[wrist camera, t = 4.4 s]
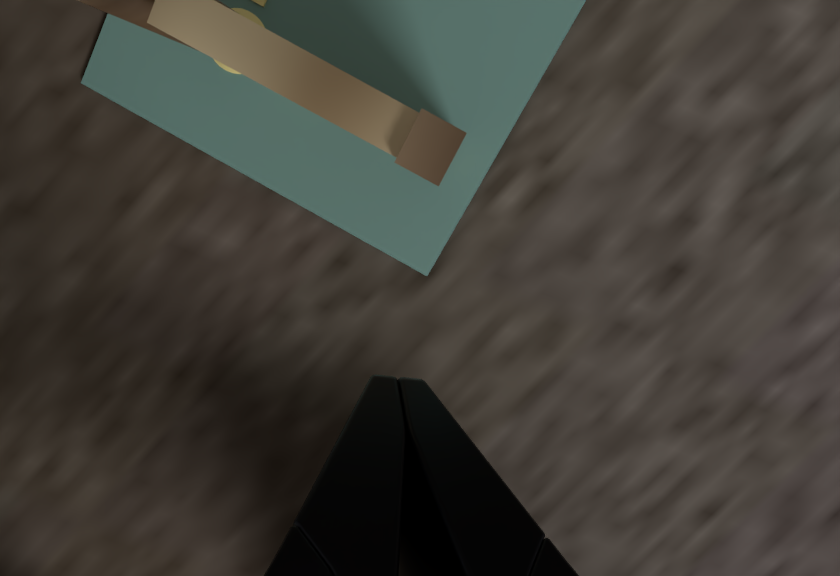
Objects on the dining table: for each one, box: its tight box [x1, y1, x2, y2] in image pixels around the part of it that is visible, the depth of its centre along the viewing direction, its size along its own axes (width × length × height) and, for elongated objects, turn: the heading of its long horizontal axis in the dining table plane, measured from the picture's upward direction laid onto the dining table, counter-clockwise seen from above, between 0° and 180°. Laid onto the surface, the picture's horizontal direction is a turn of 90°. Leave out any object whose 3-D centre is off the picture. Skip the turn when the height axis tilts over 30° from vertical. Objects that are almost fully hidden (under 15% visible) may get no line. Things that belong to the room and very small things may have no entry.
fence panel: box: [147, 0, 467, 186], centre depth 18 cm, size 8×1×10 cm, turn 62°
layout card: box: [81, 0, 586, 276], centre depth 22 cm, size 16×13×1 cm
